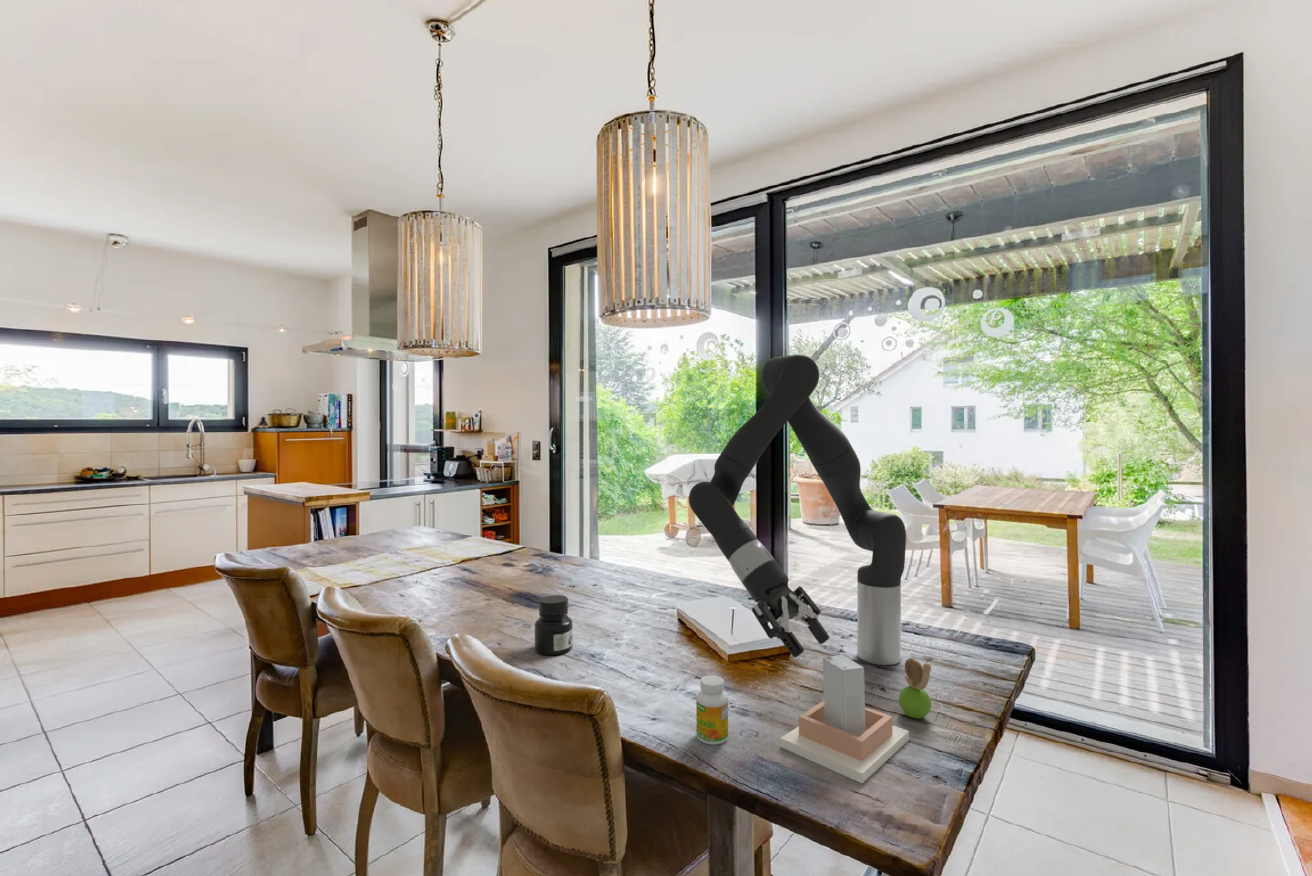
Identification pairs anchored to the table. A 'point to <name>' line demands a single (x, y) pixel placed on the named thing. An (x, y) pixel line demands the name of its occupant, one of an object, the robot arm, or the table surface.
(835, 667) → the skincare box
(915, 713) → the snail figurine
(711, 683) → the supplement bottle
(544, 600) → the ink bottle
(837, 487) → the robot arm
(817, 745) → the socket stand
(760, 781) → the table surface
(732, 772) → the table surface
